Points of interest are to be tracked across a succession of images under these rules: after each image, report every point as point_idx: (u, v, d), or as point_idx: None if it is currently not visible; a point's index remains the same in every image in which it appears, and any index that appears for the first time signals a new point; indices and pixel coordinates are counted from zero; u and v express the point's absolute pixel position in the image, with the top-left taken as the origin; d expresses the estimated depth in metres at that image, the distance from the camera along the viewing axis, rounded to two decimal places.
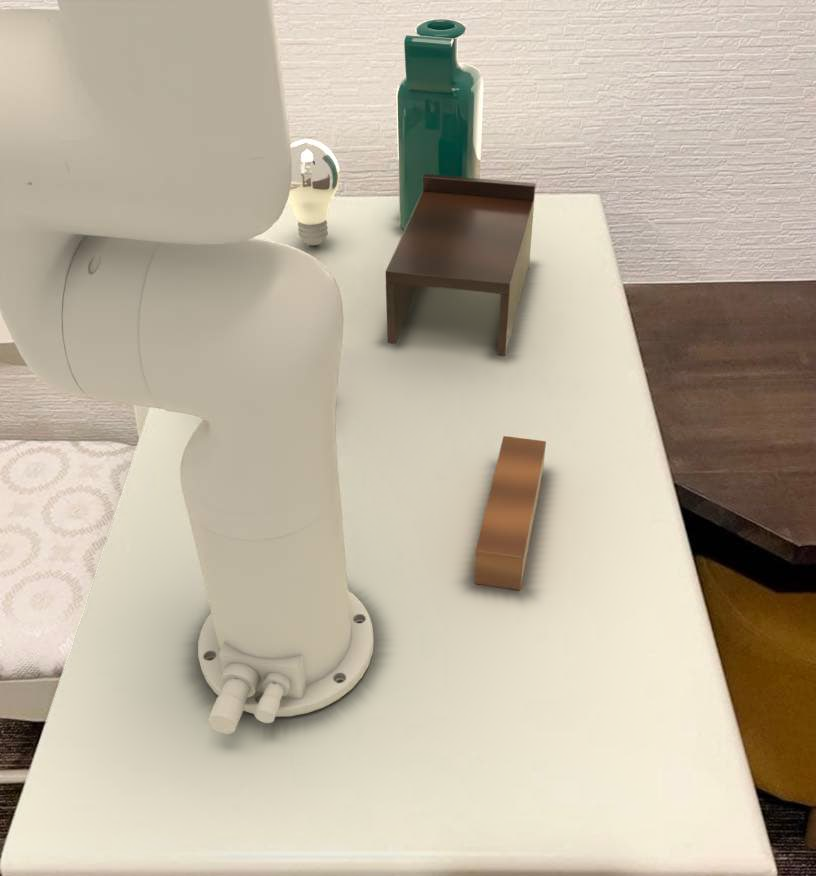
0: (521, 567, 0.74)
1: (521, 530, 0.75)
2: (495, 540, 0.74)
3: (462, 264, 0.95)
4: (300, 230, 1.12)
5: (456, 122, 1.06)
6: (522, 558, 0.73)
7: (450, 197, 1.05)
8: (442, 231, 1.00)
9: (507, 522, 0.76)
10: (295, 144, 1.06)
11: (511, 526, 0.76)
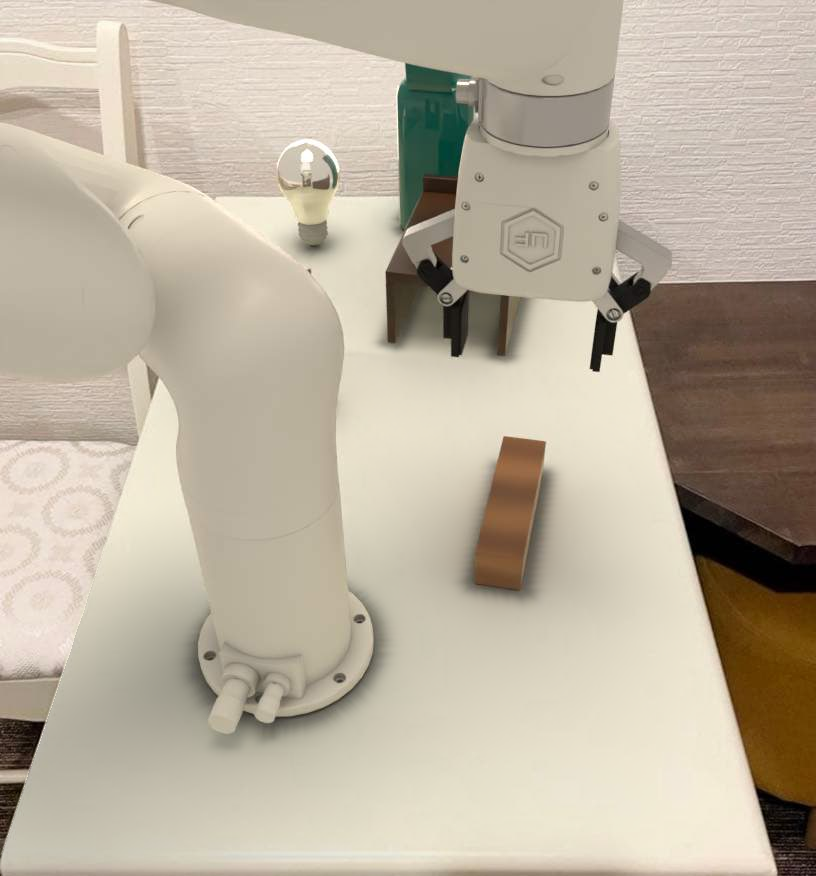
0: (521, 567, 0.74)
1: (521, 530, 0.75)
2: (495, 540, 0.74)
3: None
4: (300, 230, 1.12)
5: (456, 122, 1.06)
6: (522, 558, 0.73)
7: (450, 197, 1.05)
8: None
9: (507, 522, 0.76)
10: (295, 144, 1.06)
11: (511, 526, 0.76)
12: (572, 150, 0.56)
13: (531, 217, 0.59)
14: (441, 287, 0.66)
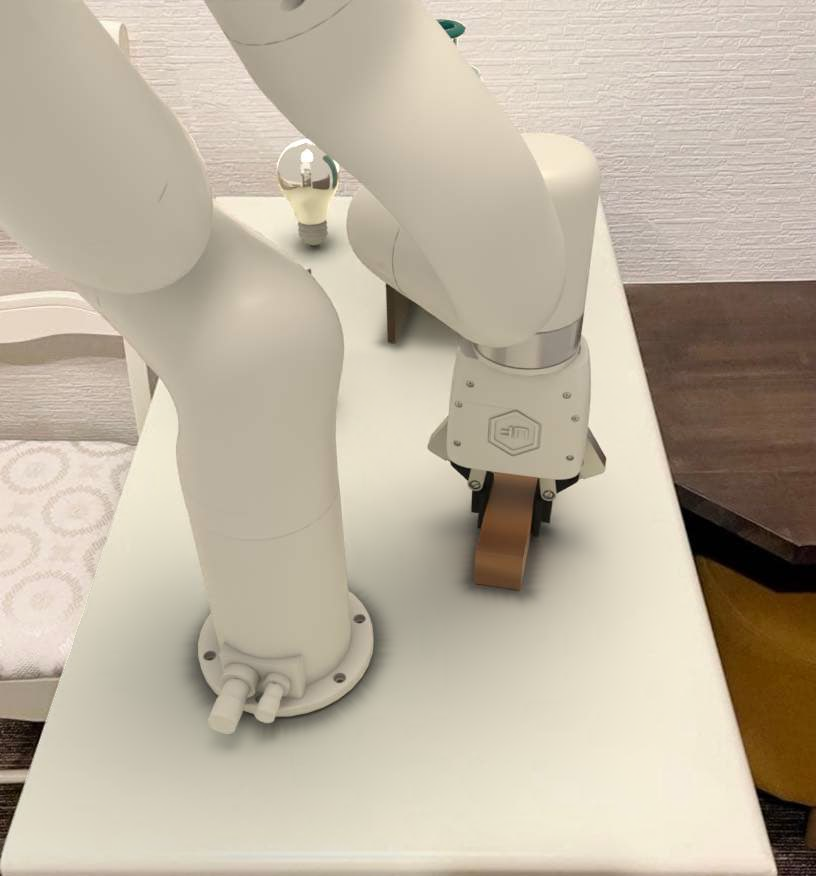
0: (521, 567, 0.74)
1: (521, 530, 0.75)
2: (495, 540, 0.74)
3: None
4: (300, 230, 1.12)
5: None
6: (522, 558, 0.73)
7: None
8: None
9: (507, 522, 0.76)
10: (295, 144, 1.06)
11: (511, 526, 0.76)
12: (548, 370, 0.66)
13: (514, 416, 0.70)
14: (468, 477, 0.77)
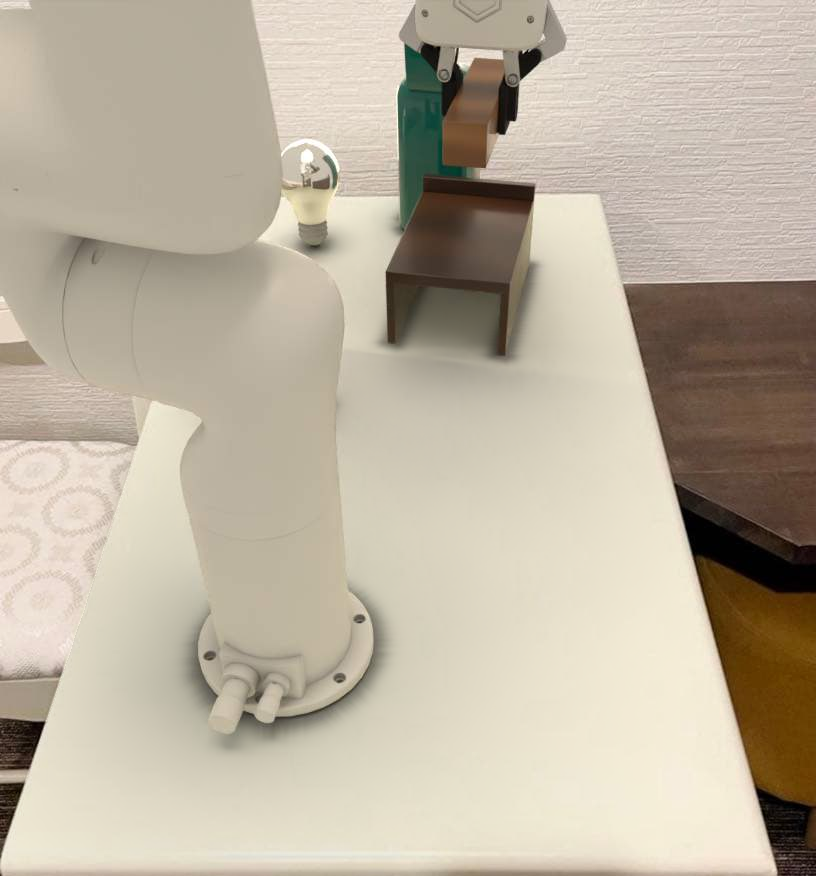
0: (486, 137, 0.78)
1: (487, 109, 0.80)
2: (462, 115, 0.79)
3: (462, 264, 0.95)
4: (300, 230, 1.12)
5: None
6: (486, 125, 0.78)
7: (450, 197, 1.05)
8: (442, 231, 1.00)
9: (473, 105, 0.80)
10: (295, 144, 1.06)
11: (477, 107, 0.80)
12: None
13: None
14: (438, 69, 0.81)
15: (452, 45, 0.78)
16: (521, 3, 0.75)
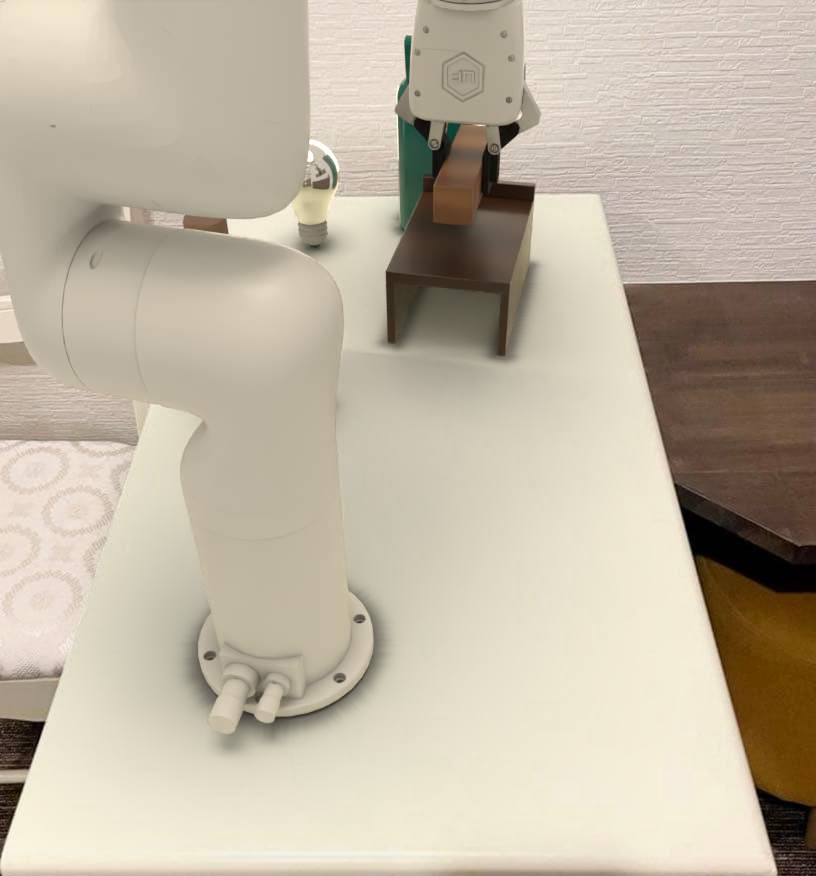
0: (471, 200, 0.90)
1: (472, 174, 0.91)
2: (450, 180, 0.90)
3: (462, 264, 0.95)
4: (300, 230, 1.12)
5: None
6: (471, 190, 0.89)
7: None
8: (442, 231, 1.00)
9: (460, 170, 0.92)
10: None
11: (463, 172, 0.91)
12: (487, 6, 0.82)
13: (462, 59, 0.85)
14: (428, 138, 0.93)
15: (441, 120, 0.90)
16: (501, 86, 0.86)
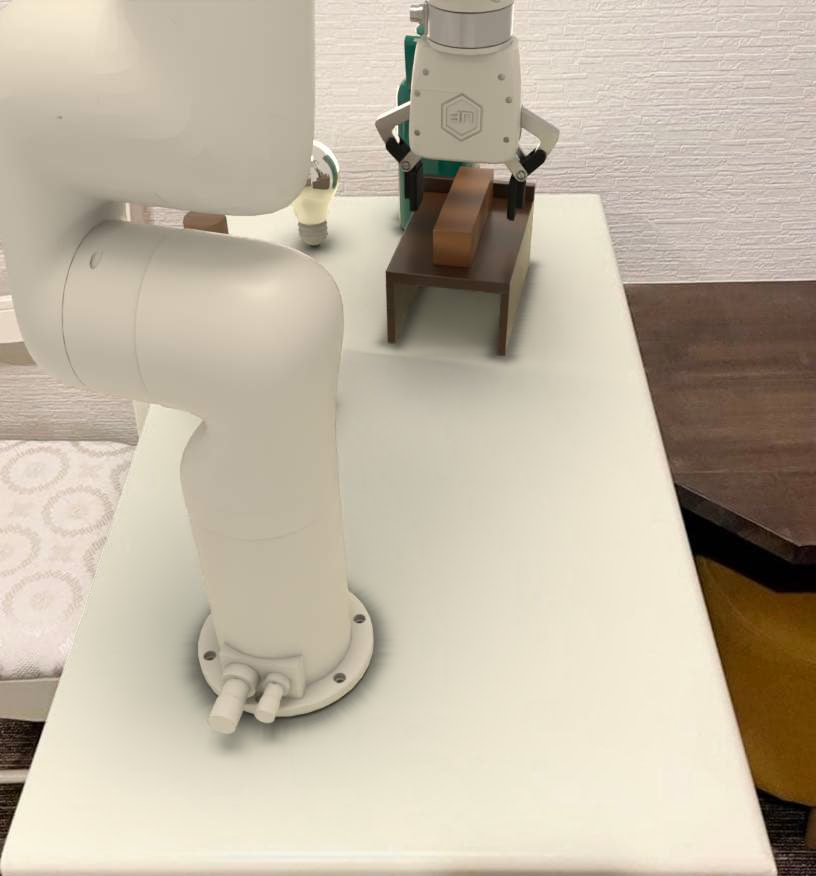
0: (469, 243, 0.93)
1: (470, 218, 0.94)
2: (449, 224, 0.93)
3: None
4: (300, 230, 1.12)
5: None
6: (470, 234, 0.92)
7: None
8: None
9: (459, 214, 0.95)
10: None
11: (462, 216, 0.94)
12: (485, 51, 0.84)
13: (461, 100, 0.88)
14: (402, 158, 0.95)
15: (440, 158, 0.92)
16: (498, 127, 0.89)
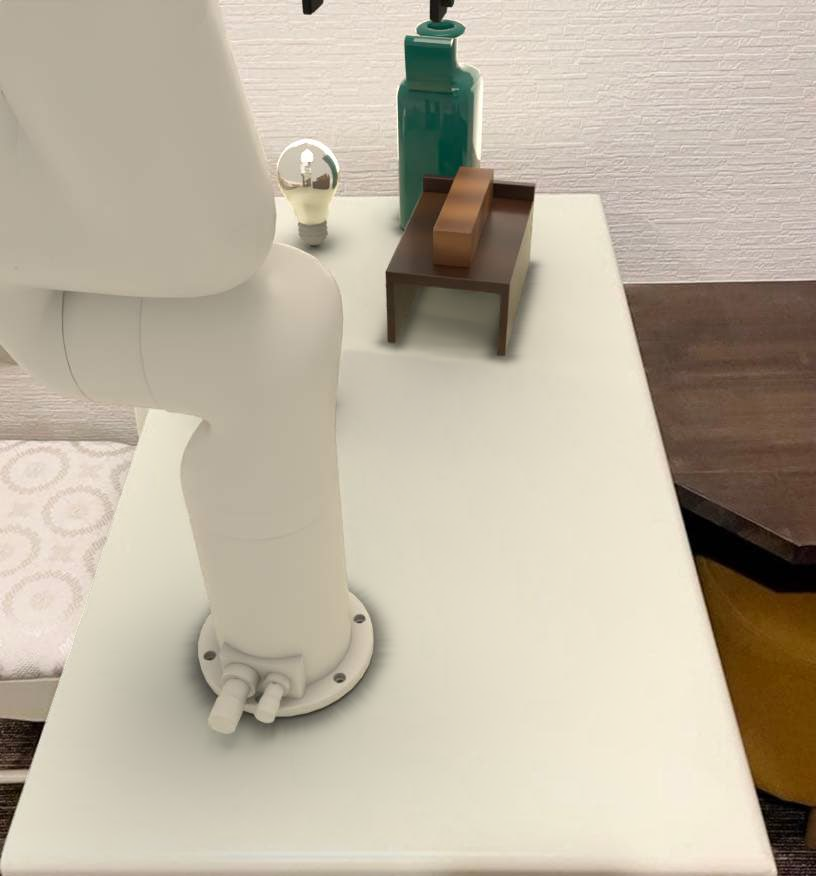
0: (469, 243, 0.93)
1: (470, 218, 0.94)
2: (449, 224, 0.93)
3: None
4: (300, 230, 1.12)
5: (456, 122, 1.06)
6: (470, 234, 0.92)
7: None
8: None
9: (459, 214, 0.95)
10: (295, 144, 1.06)
11: (462, 216, 0.94)
12: None
13: None
14: None
15: None
16: None
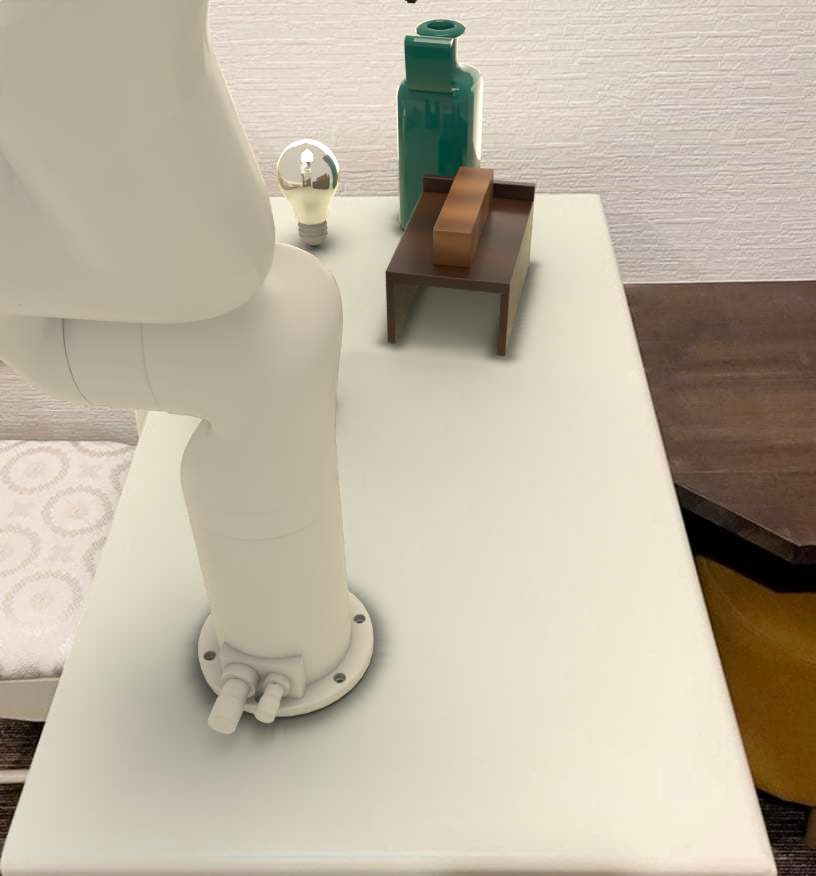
0: (469, 243, 0.93)
1: (470, 218, 0.94)
2: (449, 224, 0.93)
3: None
4: (300, 230, 1.12)
5: (456, 122, 1.06)
6: (470, 234, 0.92)
7: None
8: None
9: (459, 214, 0.95)
10: (295, 144, 1.06)
11: (462, 216, 0.94)
12: None
13: None
14: None
15: None
16: None
